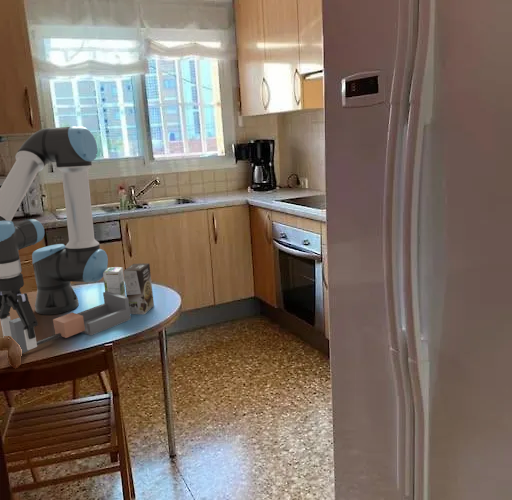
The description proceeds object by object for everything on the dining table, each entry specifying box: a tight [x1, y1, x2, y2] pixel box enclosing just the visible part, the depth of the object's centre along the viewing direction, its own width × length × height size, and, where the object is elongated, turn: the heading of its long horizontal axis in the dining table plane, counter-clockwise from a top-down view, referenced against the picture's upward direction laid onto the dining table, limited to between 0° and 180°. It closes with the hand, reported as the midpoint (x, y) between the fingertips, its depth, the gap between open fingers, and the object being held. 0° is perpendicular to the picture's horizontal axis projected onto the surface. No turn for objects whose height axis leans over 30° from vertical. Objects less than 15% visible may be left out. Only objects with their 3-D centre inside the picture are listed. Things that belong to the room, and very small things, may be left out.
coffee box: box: [123, 262, 155, 316], centre depth 194 cm, size 9×6×16 cm
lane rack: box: [76, 291, 132, 336], centre depth 185 cm, size 12×16×8 cm
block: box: [9, 312, 85, 354], centre depth 170 cm, size 6×22×10 cm, turn 141°
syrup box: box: [102, 266, 126, 296], centre depth 199 cm, size 6×6×14 cm
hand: (20, 343), depth 164 cm, fingers open, 13 cm apart
